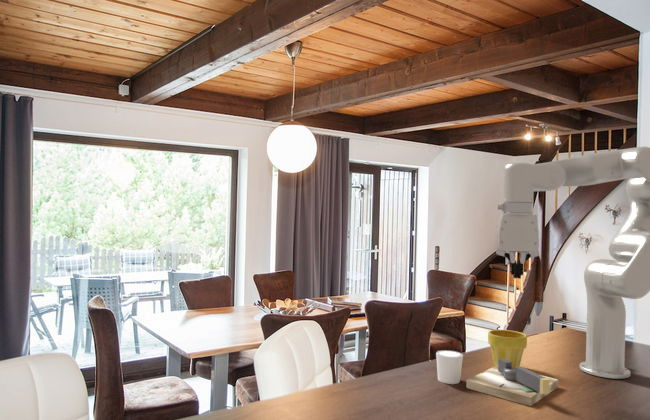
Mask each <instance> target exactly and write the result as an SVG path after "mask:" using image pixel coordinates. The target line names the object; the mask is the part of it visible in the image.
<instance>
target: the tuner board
mask: <svg viewBox="0 0 650 420" xmlns="http://www.w3.org/2000/svg"><path fill="white" fill-rule="evenodd" d="M540 375H541V376H543V377H545V378H547V379H549V380H550V383H549V394H550V393H551V392H553V391H554V390H556V389H558V388H559V379H558V378H555V377H554V378H553V377H549V376H546V375H542V374H540ZM466 389H469V390H472V391H476V392H478V393H482V394H486V395H489V396H492V397H496V398H501V399H503V400H508V401H512V402H515V403H518V404H521V405H525V406H529V407H532V406H534V405H535V404H536V403H538V402H539V401H541V400H542V399H543V398H545V397H546V396H548V395H549V394H541V393H540V392H538V391H536V390H534V389H532V388H530V387H528V386H526V385H524V384H522V383H520V382H518V381H513V380H508V379H506V378H504V374H502V373H500V372H498V365H496V366H492V367H490V368H488V369H486V370H484V371H482V372H480V373H477V374H475V375H474V376H471V377H470V378H467V379H466Z"/></svg>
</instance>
